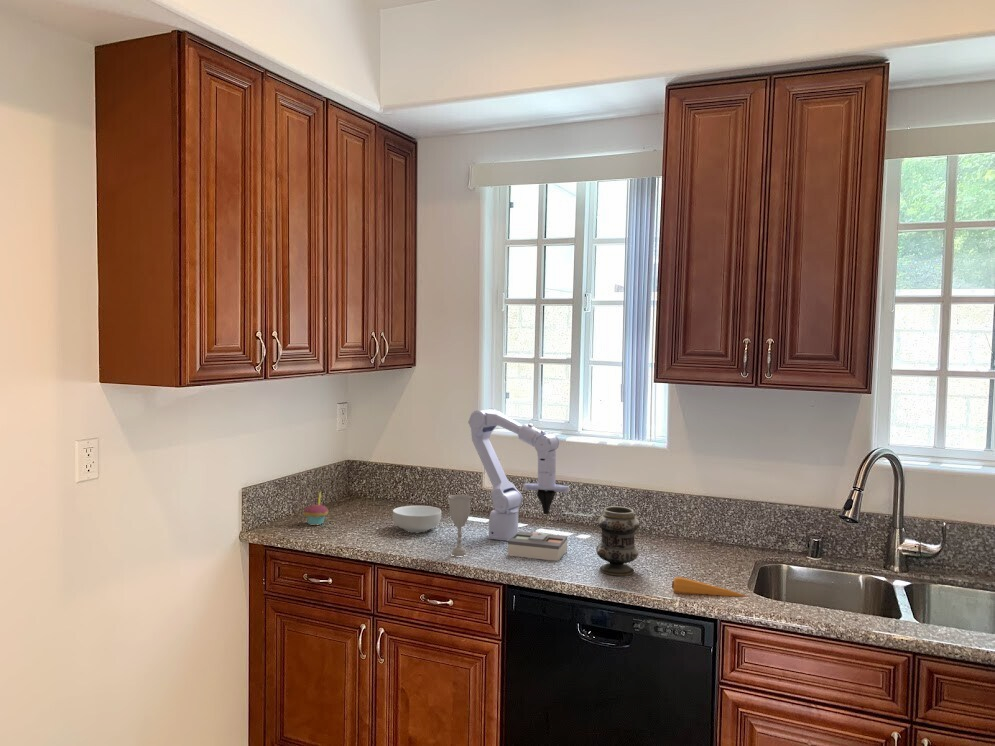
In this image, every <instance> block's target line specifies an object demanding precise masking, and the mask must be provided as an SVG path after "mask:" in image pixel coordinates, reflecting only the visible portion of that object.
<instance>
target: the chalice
mask: <svg viewBox="0 0 995 746" xmlns="http://www.w3.org/2000/svg"><path fill="white" fill-rule="evenodd" d="M447 497H448V499H449V514H450V515H449V516H450V518H451V520H452V522H453V524H454V526H455V527H456V528H457V531H456V532H457V533H456V535H457V538H456V540H457V545H456V546H455V547H454V548H453V549H452V552H451V554H452V555H454V556H464V555H467V556H468V553H467V551H466V548H465V547H464V546H462V541H463V538H462V534H463V533H462V528H463V527H464V526H465V525H466V523H467V521H468V519H469V516H470V514H471V500H472V495H469V494H451V495H448V496H447Z"/></svg>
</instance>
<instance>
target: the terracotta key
mask: <svg viewBox="0 0 995 746" xmlns="http://www.w3.org/2000/svg"><path fill="white" fill-rule="evenodd" d="M547 542H556V543H561V541H560V540H550V539H549V540H548V541H547Z"/></svg>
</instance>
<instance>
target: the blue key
mask: <svg viewBox="0 0 995 746" xmlns="http://www.w3.org/2000/svg"><path fill="white" fill-rule="evenodd" d="M545 539H546V536H542V535H532V536H531V537H530V540H536V541H544V540H545Z"/></svg>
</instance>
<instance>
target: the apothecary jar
mask: <svg viewBox="0 0 995 746" xmlns="http://www.w3.org/2000/svg"><path fill="white" fill-rule="evenodd" d="M597 524H598V527H599V528H600V529H601V538H600V542H599V543H598V545H597V546H596V548H595V551H596V554H597V555H598V557H599V558H601V559H602V560H603V561H605V562H608V563H606V564H603V565H601V566H600V567H599V571H600V572H601V573H603V574H606V575H610V576H614V577H615V576H616V577H621V576H622V577H624V576H631V575H633V574H634V571H635V570H634V568H632V567H631V566H629V565H628V563H631V562H633V561H635V560H636V559H637V558H638V556H639V549H638V548H637V546H636V545H635V535H636V534H635V533H636V531H637V530H638V529H639V527H640V521H639V519H638V518H637V517H636V516H635V511H634V509H632V508H631V507H626V506H620V505H619V506H618V505H613V506H612V505H610V506H606V507H604V510H603V513H602V515H600V516H599V518H598V520H597Z"/></svg>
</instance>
